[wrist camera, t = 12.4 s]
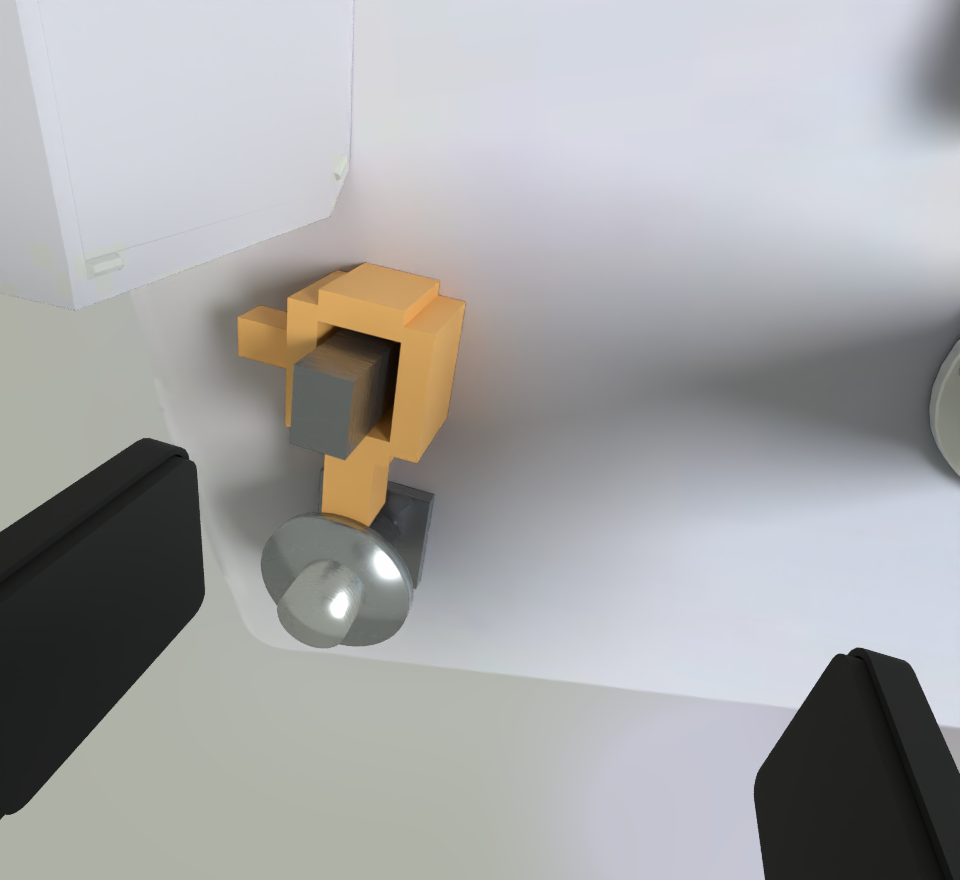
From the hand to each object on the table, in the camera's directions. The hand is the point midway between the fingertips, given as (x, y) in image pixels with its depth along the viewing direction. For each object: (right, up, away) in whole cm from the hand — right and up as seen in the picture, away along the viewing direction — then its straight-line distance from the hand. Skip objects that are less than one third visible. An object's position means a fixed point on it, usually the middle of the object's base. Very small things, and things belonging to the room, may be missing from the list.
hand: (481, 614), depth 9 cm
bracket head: (-8, +7, +32) cm, 33 cm away
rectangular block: (-5, +8, +30) cm, 32 cm away
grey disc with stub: (-8, -4, +37) cm, 38 cm away
